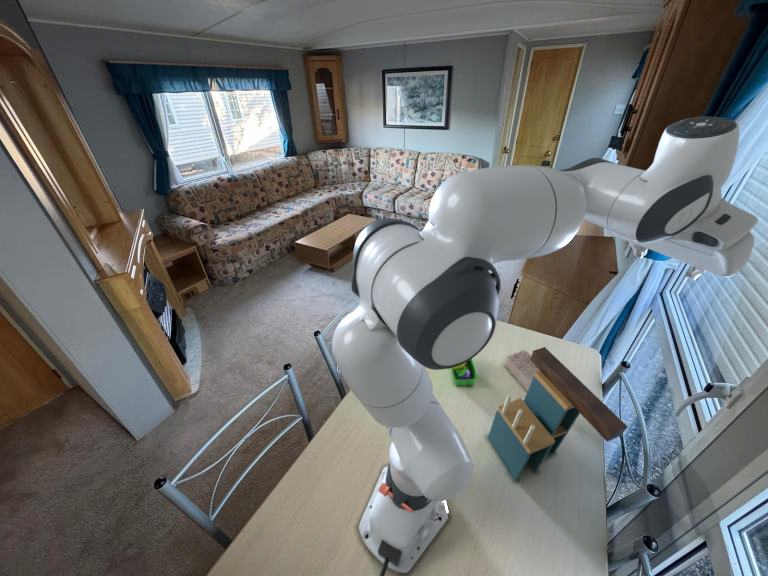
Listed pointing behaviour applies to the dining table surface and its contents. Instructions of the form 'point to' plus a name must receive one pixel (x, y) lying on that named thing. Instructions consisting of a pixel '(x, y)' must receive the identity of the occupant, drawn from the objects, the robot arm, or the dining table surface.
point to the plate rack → (531, 426)
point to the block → (578, 395)
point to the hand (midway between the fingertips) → (664, 265)
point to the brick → (521, 367)
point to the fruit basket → (464, 374)
